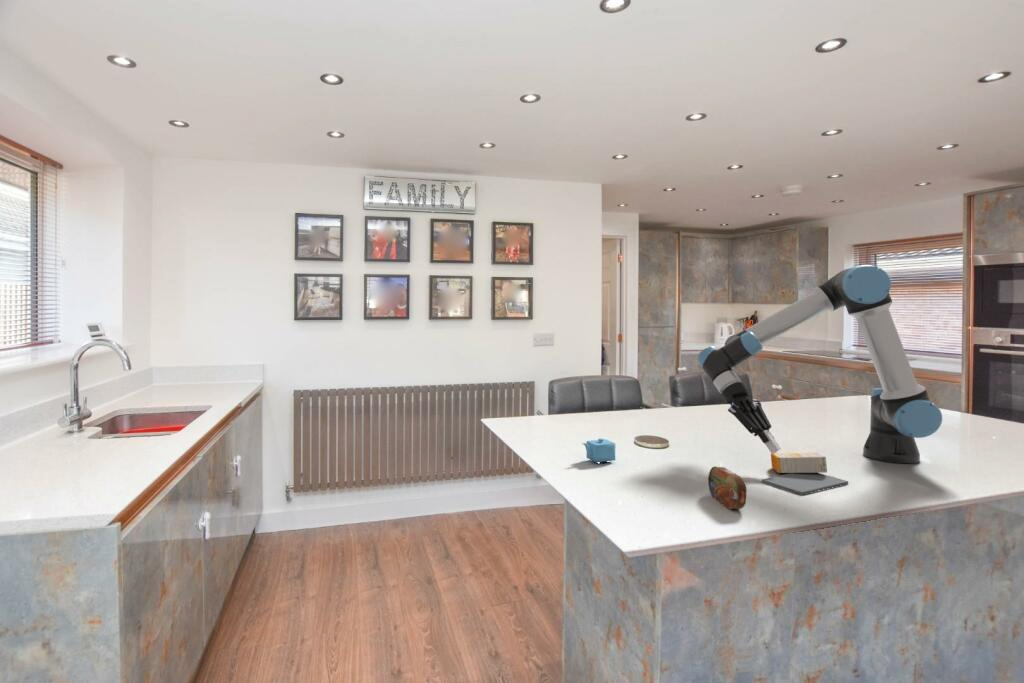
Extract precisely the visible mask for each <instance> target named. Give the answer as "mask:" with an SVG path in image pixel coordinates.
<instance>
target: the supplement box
mask: <svg viewBox="0 0 1024 683" xmlns="http://www.w3.org/2000/svg"><path fill="white" fill-rule="evenodd" d="M770 460H771V468H772V469H773V470H775V471H776V472H777V473H778V474H780V473H781V474H790V473H820V474H823V473H824V474H825V473H828V468H827V457H826V456H824V455H822V454H821V453H818V452H789V453H788V452H781V453H779V452H778V453H777V452H776V453H773V454H772V453H771V452H770Z"/></svg>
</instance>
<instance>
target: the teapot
mask: <svg viewBox="0 0 1024 683" xmlns="http://www.w3.org/2000/svg"><path fill="white" fill-rule="evenodd" d="M581 445H584V447H585V450H586V458H587V459H589V460H590V461H591V460H592V461H591V462H594V463H597V462H601V463H602V462H603V463H604V462H606V461H610V462H612V461H616V443H615V442H613V441H611V440H609V439H605V438H598V439H594V440H587V441H586V442H584V443H583V442H582V443H581Z"/></svg>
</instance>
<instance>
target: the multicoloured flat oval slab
mask: <svg viewBox="0 0 1024 683" xmlns="http://www.w3.org/2000/svg"><path fill="white" fill-rule="evenodd" d="M707 481H708V482H707V484H708V489H709V490H708V491H709V493H710V495H711V497H712V498H713V499H714V498H715V499H716V500H715V499H714V500H715V501H717V502H718V501H719V502H718V503H720V504H721V505H722V504H723V506H724V507H725V508H726V509H729V510H741V509H743V508H744V507H745V505H746V501H747V486H746V482H745V480H744V479H743V477H742V476H740V475H738V474H737V473H736V472H733V471H732V470H730V469H728V468H726V467H724V466H723V467H722V466H712V467H711V468H710V470H709V472H708V478H707Z"/></svg>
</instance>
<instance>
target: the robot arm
mask: <svg viewBox="0 0 1024 683" xmlns="http://www.w3.org/2000/svg"><path fill="white" fill-rule="evenodd" d="M891 287H892V282H891V277H890V276H889V274H888V273H887V272H886V271H885V270H884V269H882V268H881V267H879V266H876V265H871V264H860V265H857V266H853V267H851V268H846V269H843V270H840V271H838V273H836V274H834V275H833V276H832V277H830V278H829V279H828V280H826V281H824V282H822V284H820V285H818V286H816V287H814V290H813V292H811V293H810V294H809V293H808V294H807V295H806V296H804V297H802V298H801V299H798V300H797V301H795V302H792V303H791V304H790V305H789V304H788V305H787V306H786V307H784V308H782V309H780V310H779V311H777V312H776V311H775V313H773V314H771V315H770V316H767V317H766V318H763V319H762V320H759V322H757V323H754V324H753V325H751V326H749V327H747V328H746V329H743V330H742V331H740V332H738V333H736V334H734V335H733V334H732V335H731V336H729V337H727V339H726V340H725V342H724V346H722V347H719V348H718V347H716V346H713V345H711V346H708V347H705V348H704V349H702V350H701V351H699V353H698V355H697V356H696V357H697V362H698V363H699V365H700V367H701V368H702V370H703V371H704V373H705V375H707V377H708V378H709V379H710V381H711V382H712V384H713V385H714V386H715V388H716V389H717V390H718V393H720V394H721V397H722V398H723V400H724V401H725V403H726V404H728V405H730V407H729V408H728V409H727V412H729V413H730V414H731V415H733V416H734V417H735V418H736V420H738V421H739V422H740V424H741V425H742V426H743V427H744V428H745V429H746V430H747V431H748V432H749V433H750V434H752V435H753V436H754V437H757V436H758V437H759V439H760V440H761V442H762V443H763V444H764V445H765V446H766V448H767V449H768V450H769V452H770V454H771V453H772V454H773V453H777V452H778V451H780V450H781V449H782V448H781V446H780V444H779V443H778V442H777V441H776V439H775V437H774V435H773V434H772V433H771V432H770V430H771V428H772V424H771V422H770V421H769V419H768V417H767V415H766V413H765V411H764V409H763V407H762V403H761V402H760V401H757V402H754V401H753V399H752V398H751V397H750V396H749V390H748V388H747V387H746V386H745V384H744V383H743V382H742V380H741V378H740V377H739V376H738V375H737V374H736V372H735V371H734V369H733V368H735V367H736V366H738V365H740V364H741V363H743V362H745V361H747V360H748V359H749V358H752V357H754V356H755V355H757V354H758V353H759V352H761V351H762V350H763V346H764V345H765V344H767V343H768V342H770V341H773V340H775V339H776V338H778V337H781V336H782V335H784V334H787V332H790V331H791V330H794V329H795V328H797V327H799V326H801V325H803V324H806V323H807V322H809V321H810V320H812V319H814V318H817V317H818V316H820V315H822V314H824V313H826V312H830V313H831V312H834V311H836V310H838V309H840V308H844V307H845V308H846V312H847V314H848V315H849V316H851V317H854V318H855V319H856V320H857V323H858V326H859V329H860V331H861V335H862V337H863V339H864V342H865V344H866V347H867V350H868V353H869V355H870V356H869V357H870V358H871V361H872V363H873V366H874V368H875V371H876V374H877V377H878V379H879V382H880V385H881V387H876V388H873V389H872V390H871V396H870V421H869V422H870V424H869V426H870V427H869V428H870V430H869V434H868V436H867V438H866V441H865V443H864V446H863V448H862V449H863V450H862V454H863V455H864V456H865V457H868V458H870V459H874V460H877V461H883V462H888V463H896V464H897V463H898V464H916V463H919V462H920V461H921V459H920V458H921V454H920V453H921V452H920V450H919V448H918V445H917V441H916V439H915V438H917V439H922V438H923V439H924V438H926V437H929V436H932V435H933V434H934V433H936V432H937V431H938V430H939V428H940V427H941V426H942V424H943V414H942V411H941V410H940V408H939V407H938V406H937V405H936V403H933V402H932V401H931V399H930V396H929V394H928V391H927V388H926V387H925V386H923V385H921V384H919V383H917V380H916V377H915V374H914V372H913V369H912V367H911V364H910V361H909V358H908V356H907V354H906V351H905V348H904V346H903V343H902V340H901V338H900V336H899V335H900V334H899V333H898V329H897V328H896V325H895V322H894V320H893V317H892V315H891V312H890V307H891V306H892V305H893V300H892V297H891V294H890V291H891Z"/></svg>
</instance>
